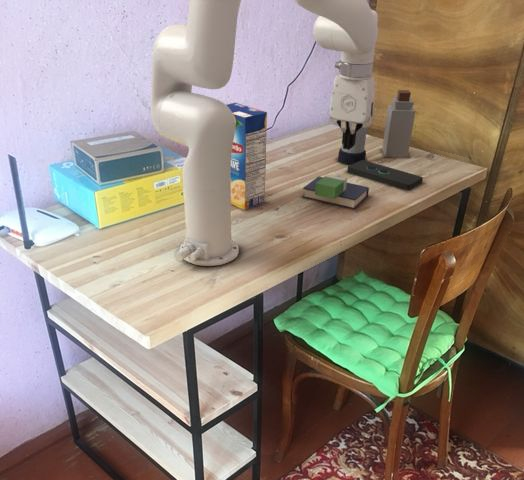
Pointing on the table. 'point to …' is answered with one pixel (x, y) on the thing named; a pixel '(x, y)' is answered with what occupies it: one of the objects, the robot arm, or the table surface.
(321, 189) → the green and white eraser
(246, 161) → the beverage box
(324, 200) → the book
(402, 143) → the perfume bottle
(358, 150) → the humidifier
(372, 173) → the smart home device
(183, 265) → the table surface
